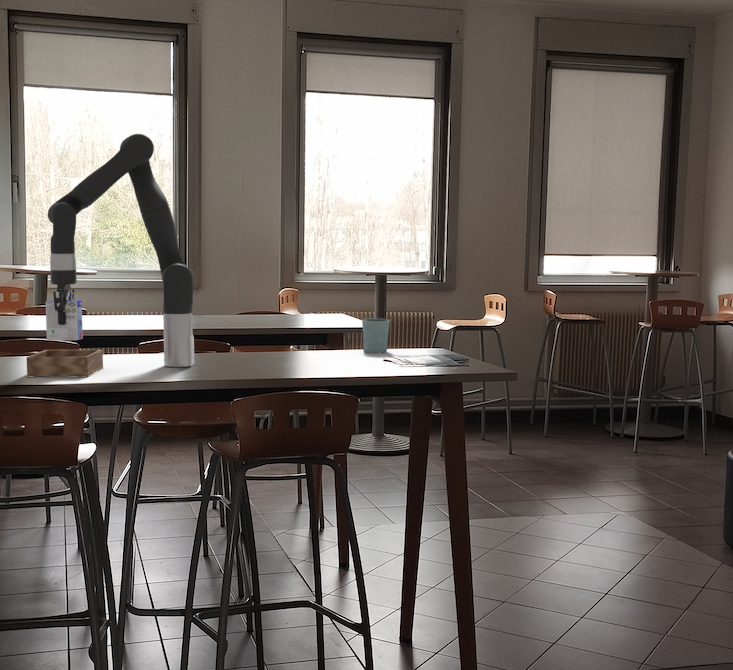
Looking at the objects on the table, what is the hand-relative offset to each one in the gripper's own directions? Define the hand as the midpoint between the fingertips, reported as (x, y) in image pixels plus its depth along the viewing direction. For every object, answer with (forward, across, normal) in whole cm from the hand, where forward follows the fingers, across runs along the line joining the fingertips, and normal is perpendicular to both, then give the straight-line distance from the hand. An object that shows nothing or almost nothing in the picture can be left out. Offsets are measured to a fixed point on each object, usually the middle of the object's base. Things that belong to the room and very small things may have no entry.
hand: (65, 323), depth 281 cm
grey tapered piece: (+15, +50, -98) cm, 111 cm away
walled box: (+15, 0, 0) cm, 15 cm away
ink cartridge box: (+5, 0, 0) cm, 5 cm away
